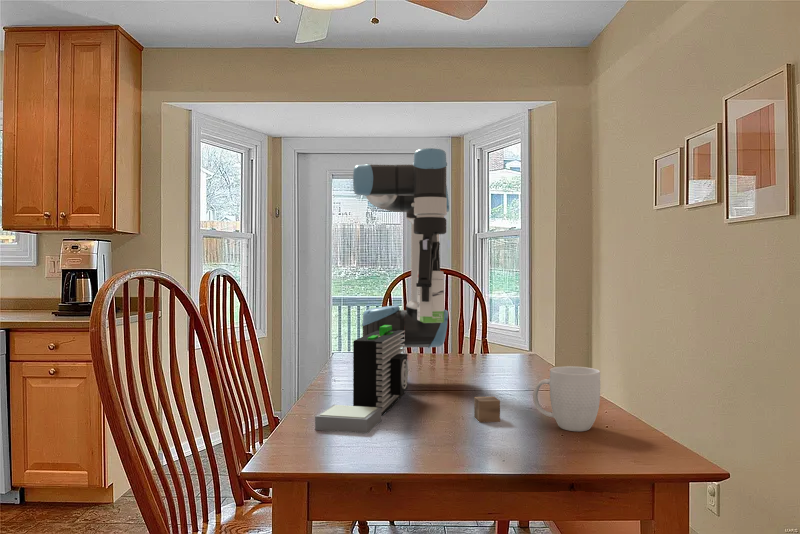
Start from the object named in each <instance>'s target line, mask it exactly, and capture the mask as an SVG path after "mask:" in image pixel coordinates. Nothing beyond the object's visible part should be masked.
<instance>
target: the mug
mask: <svg viewBox="0 0 800 534" xmlns="http://www.w3.org/2000/svg"><path fill="white" fill-rule="evenodd" d="M544 384H545V385H548V386H549V399H550V400H549V401H550V406H551V411H547V410H546V409H544V408H542V407H541V405H540V403H539V399H538V394H539V390H540V388H541V386H542V385H544ZM532 393H533V394H532V399H533V400H532V401H533V403H534V406H535V408H536V409H537V411H538V412H539V413H540V414H542V415H544V416H545V417H546V416H547V417H549V418H553V419H555V422H556V424H557V426H558V427H559V428H560V429H562V430H564V431H569V432H586V431H589V430H590V429H591V428H592V426H593V425H594V424H595V422H596V419H597V415H598V413H599V407H600V402H601V401H600V400H601V371H600V370H599V369H597V368H592V367H586V366H577V365H575V366H574V365H573V366H572V365H571V366H570V365H567V366H565V365H563V366H554V367H551V368H550V369H549V378H544V379H541V380H540V381H538V382H537V384H536V385H535V386H534V389H533V392H532Z"/></svg>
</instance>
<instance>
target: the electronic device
mask: <svg viewBox="0 0 800 534" xmlns="http://www.w3.org/2000/svg"><path fill="white" fill-rule="evenodd" d="M403 332H404V333H405V329H404V330H397V331H392V325H383V326H381V327H379V331H375V332H373V333H370V334H368V335H366V336H363V335H362V337H359V338H357V339H354V340H353V343H352V344H353V346H352V351H353V352H352V354H353V356H352V357H353V360H352V366H353V367H352V369H353V370H352V371H353V373H352V377H353V383H352V384H353V386H352V391H353V392H352V395H353V398H352V400H353V401H352V404H353V405H352V406H362V407H379V408H382V417H384V416H385V414H386V413H387V412H388V411H389V410H390V409H391V408H392V407H393V406H394V405H395V404H396V403H397V402H398V401H399V400H400V399H401V398H402V397H403V396H404V395H405V394H406V393H405V392H406V390H408V380H409V378H408V377H409V366H408V353H406V352H405V353H404V351H405V350H406V348H404V347H405V344H400V343H402V342H404V341H405V339H404V340H403V339H401V338H403V337H404V338H405V334H404V335H400V334H401V333H403ZM403 346H404V347H403Z"/></svg>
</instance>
